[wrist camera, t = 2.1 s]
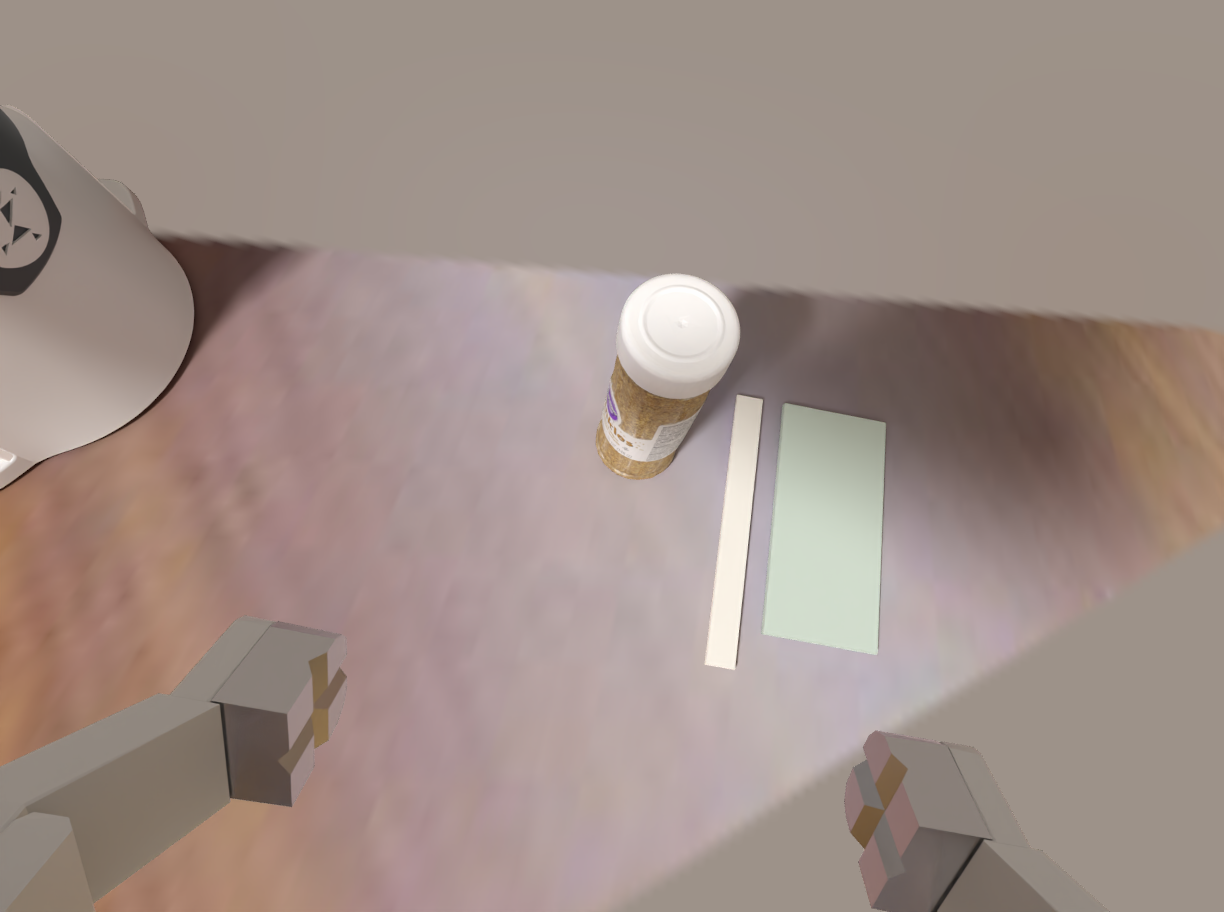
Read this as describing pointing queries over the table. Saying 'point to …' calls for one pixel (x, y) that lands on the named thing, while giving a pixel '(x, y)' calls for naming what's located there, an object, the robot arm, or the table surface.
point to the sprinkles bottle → (664, 370)
